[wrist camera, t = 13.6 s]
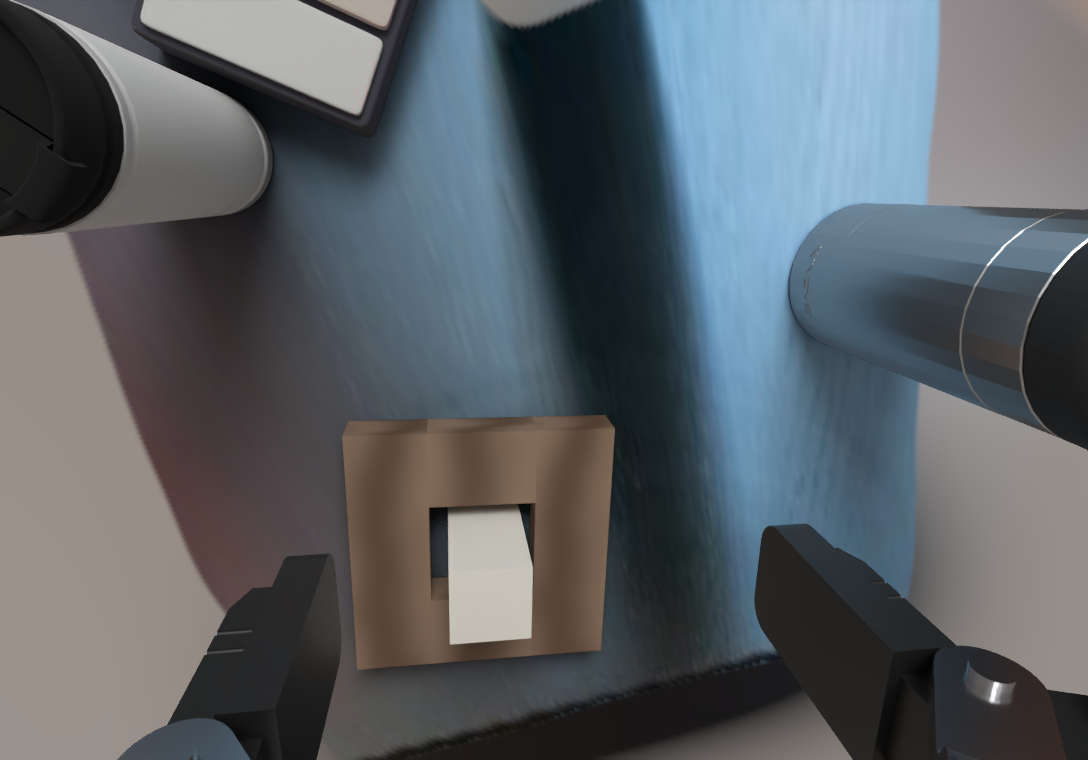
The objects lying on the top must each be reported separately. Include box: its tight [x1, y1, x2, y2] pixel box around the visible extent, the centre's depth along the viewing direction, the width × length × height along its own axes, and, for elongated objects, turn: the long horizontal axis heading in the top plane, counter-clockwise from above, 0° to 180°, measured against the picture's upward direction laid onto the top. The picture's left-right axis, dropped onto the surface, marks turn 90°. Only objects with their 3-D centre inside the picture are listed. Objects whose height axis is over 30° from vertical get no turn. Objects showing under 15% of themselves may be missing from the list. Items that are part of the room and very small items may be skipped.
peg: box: [448, 504, 533, 645], centre depth 38 cm, size 4×4×8 cm
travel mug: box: [0, 0, 273, 236], centre depth 24 cm, size 6×7×20 cm
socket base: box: [342, 415, 615, 670], centre depth 41 cm, size 16×16×2 cm
